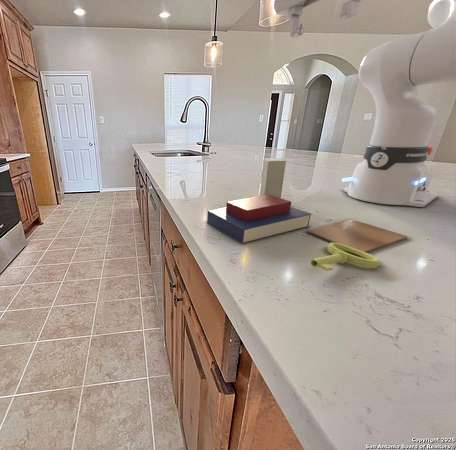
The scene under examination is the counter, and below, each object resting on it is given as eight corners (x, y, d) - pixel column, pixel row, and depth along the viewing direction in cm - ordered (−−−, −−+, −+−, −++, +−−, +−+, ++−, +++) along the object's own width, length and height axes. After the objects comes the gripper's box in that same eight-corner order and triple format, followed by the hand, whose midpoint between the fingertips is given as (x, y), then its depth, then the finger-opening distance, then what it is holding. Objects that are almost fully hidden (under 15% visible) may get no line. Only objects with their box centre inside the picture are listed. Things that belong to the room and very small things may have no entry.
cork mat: (350, 220, 55) (351, 219, 55) (406, 238, 46) (407, 236, 46) (306, 232, 50) (307, 230, 50) (360, 254, 42) (361, 252, 41)
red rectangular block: (266, 204, 59) (268, 194, 58) (289, 212, 53) (291, 201, 52) (225, 212, 55) (226, 201, 54) (246, 221, 49) (247, 210, 48)
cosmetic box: (279, 207, 65) (287, 160, 60) (262, 206, 66) (268, 160, 61) (274, 200, 71) (280, 157, 66) (257, 199, 72) (263, 157, 67)
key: (306, 272, 37) (309, 260, 36) (330, 245, 45) (333, 235, 44) (365, 293, 32) (370, 280, 31) (381, 260, 40) (386, 248, 39)
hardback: (265, 210, 63) (267, 199, 62) (308, 226, 53) (311, 213, 52) (206, 222, 57) (207, 210, 56) (242, 243, 47) (243, 229, 46)
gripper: (444, -138, 30) (403, 4, 35) (298, -40, 47) (285, 45, 53) (416, -158, 28) (377, -3, 33) (273, -47, 45) (262, 42, 51)
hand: (319, 27), depth 43 cm, fingers open, 8 cm apart
